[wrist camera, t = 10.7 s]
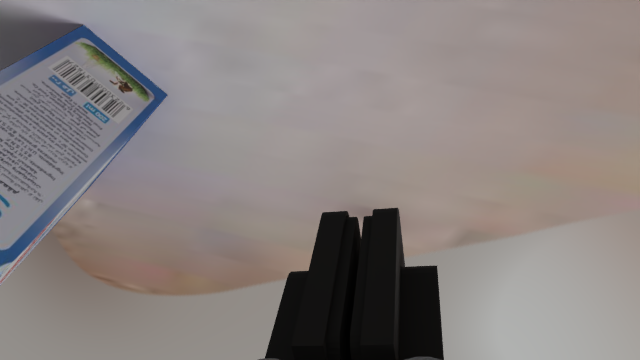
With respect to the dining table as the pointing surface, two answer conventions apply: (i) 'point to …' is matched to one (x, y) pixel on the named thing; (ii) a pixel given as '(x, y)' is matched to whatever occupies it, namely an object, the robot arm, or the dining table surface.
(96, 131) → the milk carton
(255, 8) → the dining table surface
